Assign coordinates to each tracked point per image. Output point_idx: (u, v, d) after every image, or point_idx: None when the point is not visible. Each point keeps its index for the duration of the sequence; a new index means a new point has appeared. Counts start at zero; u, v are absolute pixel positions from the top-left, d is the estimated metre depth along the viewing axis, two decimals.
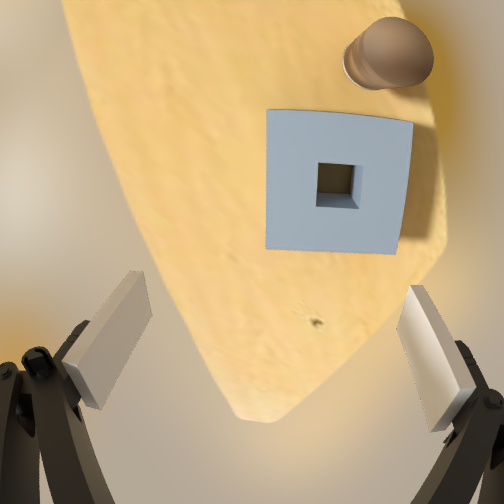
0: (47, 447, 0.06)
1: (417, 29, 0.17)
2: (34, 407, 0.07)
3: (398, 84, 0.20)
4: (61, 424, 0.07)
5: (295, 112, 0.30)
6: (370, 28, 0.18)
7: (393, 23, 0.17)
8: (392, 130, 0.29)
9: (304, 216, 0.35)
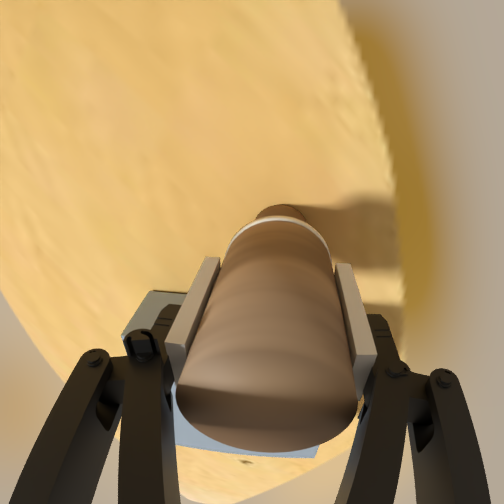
0: (129, 434, 0.07)
1: (325, 372, 0.08)
2: (125, 388, 0.09)
3: (259, 449, 0.11)
4: (152, 414, 0.08)
5: None
6: (185, 377, 0.09)
7: (249, 367, 0.08)
8: None
9: (196, 429, 0.26)
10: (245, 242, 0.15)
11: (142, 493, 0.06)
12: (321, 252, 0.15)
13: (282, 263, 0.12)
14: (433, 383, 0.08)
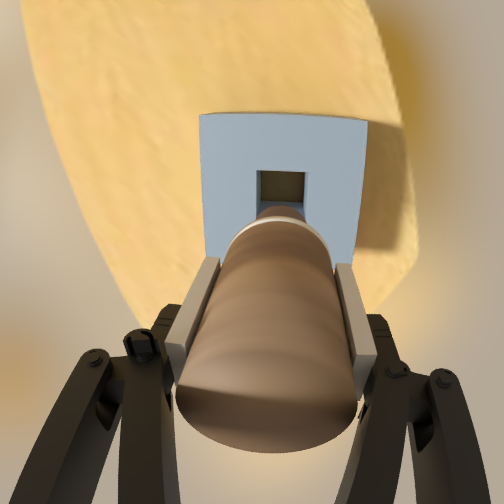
0: (129, 434, 0.07)
1: (325, 372, 0.08)
2: (125, 389, 0.09)
3: (259, 450, 0.11)
4: (152, 413, 0.08)
5: (229, 116, 0.28)
6: (185, 378, 0.09)
7: (249, 367, 0.08)
8: (342, 131, 0.27)
9: None
10: (245, 243, 0.15)
11: (142, 493, 0.06)
12: (321, 253, 0.15)
13: (282, 264, 0.12)
14: (433, 383, 0.08)
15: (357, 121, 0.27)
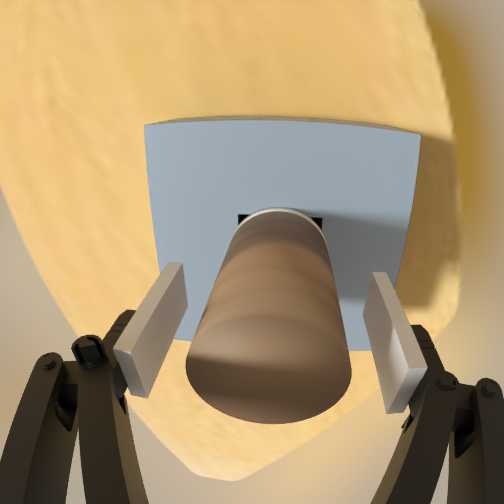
0: (87, 438, 0.07)
1: (320, 337, 0.09)
2: (79, 395, 0.08)
3: (261, 421, 0.12)
4: (106, 416, 0.08)
5: (191, 125, 0.16)
6: (195, 345, 0.10)
7: (253, 332, 0.10)
8: (380, 150, 0.16)
9: None
10: (248, 230, 0.16)
11: (107, 494, 0.05)
12: (318, 239, 0.16)
13: (282, 247, 0.14)
14: (479, 391, 0.08)
15: (405, 134, 0.15)
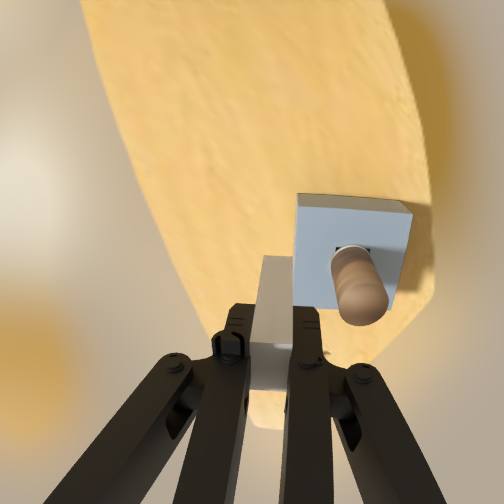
0: (200, 436, 0.07)
1: (381, 289, 0.33)
2: (204, 388, 0.09)
3: (358, 325, 0.36)
4: (229, 419, 0.08)
5: (320, 208, 0.40)
6: (345, 294, 0.34)
7: (363, 288, 0.33)
8: (395, 221, 0.39)
9: (322, 284, 0.45)
10: (345, 255, 0.40)
11: (200, 499, 0.06)
12: (370, 258, 0.40)
13: (362, 262, 0.37)
14: (351, 381, 0.09)
15: (406, 214, 0.39)
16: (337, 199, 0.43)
